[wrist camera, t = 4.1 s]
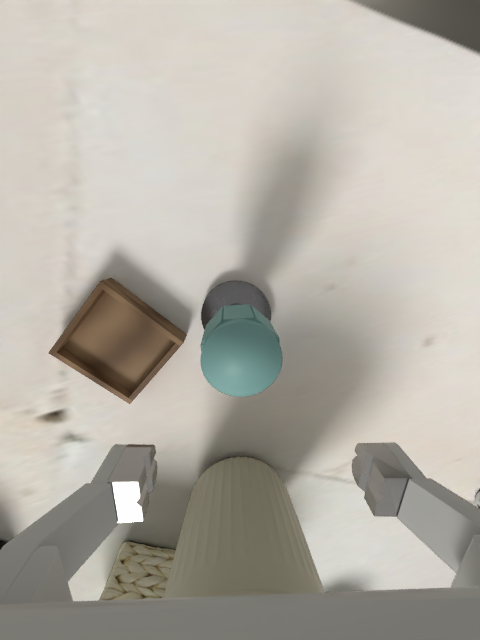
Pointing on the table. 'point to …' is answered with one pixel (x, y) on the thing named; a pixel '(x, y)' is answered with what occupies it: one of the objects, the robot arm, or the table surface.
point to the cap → (240, 351)
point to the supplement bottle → (477, 499)
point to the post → (234, 299)
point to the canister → (241, 536)
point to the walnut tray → (118, 341)
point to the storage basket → (139, 573)
